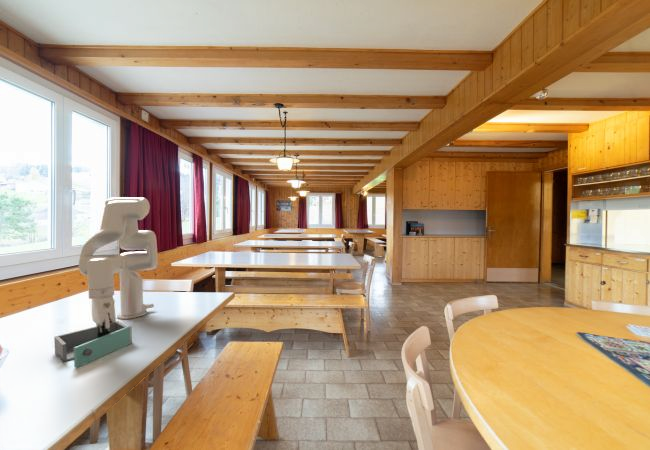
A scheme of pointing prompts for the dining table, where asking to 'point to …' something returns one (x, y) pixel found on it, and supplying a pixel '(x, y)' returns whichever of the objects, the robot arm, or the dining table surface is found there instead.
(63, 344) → the case
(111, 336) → the green drawer with knob
